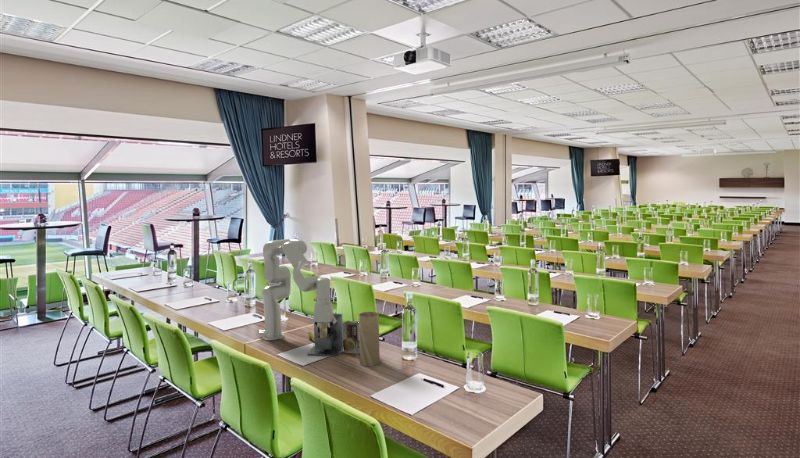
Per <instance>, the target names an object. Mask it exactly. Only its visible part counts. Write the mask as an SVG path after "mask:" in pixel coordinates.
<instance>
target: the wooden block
mask: <svg viewBox="0 0 800 458" xmlns="http://www.w3.org/2000/svg"><path fill="white" fill-rule="evenodd" d="M319 324H320V338H329V335H327V328H328V324H327V323H325V322H319Z"/></svg>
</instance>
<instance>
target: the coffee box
mask: <svg viewBox="0 0 800 458" xmlns="http://www.w3.org/2000/svg"><path fill="white" fill-rule="evenodd" d="M358 322H359V320H358V321H355V320H346V321H345V322H343V324H342V328H343V348H342V351H343V353H344V354H345V353H346V354H355V355H360V340H359V323H358Z"/></svg>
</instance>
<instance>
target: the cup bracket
mask: <svg viewBox="0 0 800 458" xmlns="http://www.w3.org/2000/svg"><path fill="white" fill-rule="evenodd" d="M334 317H335V319H336V320H337V322H336V323H334V324H333V325H332V326H331V333H330V334H329V338H320V335H319V333H318V327H317V326H316V325H315V324H314V323H313V334H314V341H313V343H314V346H313V347H311V349H310V350H309V352H308V353H307V354H306V355H307V356H308V357H309V356H310V357H338V355H339V353H341V351H342V350H343V328H342V324H343V323H344V322H343V321H344V320H343V313H334ZM332 322H333V320H332Z"/></svg>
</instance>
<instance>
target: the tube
mask: <svg viewBox="0 0 800 458" xmlns="http://www.w3.org/2000/svg"><path fill="white" fill-rule="evenodd" d="M358 322H359V340H360V353H359V364H360V365H361V366H365V367H374V366H378V365H379V364H380V363H381V362H380V358H381V357H380V314H379V313H378V312H377V311H375V312H374V311H366V312H365V311H364V312H361V313H359V314H358Z"/></svg>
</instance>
